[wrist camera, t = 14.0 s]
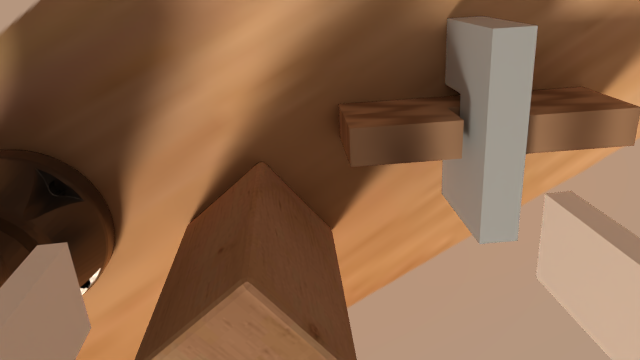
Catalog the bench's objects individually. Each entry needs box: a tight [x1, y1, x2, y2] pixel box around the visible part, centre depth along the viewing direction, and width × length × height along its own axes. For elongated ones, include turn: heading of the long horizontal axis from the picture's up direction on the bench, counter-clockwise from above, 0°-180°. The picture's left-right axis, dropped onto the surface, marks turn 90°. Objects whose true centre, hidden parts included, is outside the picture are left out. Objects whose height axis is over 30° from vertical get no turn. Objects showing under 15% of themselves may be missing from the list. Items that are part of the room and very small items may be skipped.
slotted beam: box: [338, 87, 640, 167], centre depth 42 cm, size 22×3×8 cm, turn 93°
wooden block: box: [135, 162, 357, 360], centre depth 39 cm, size 10×10×20 cm
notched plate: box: [442, 16, 538, 244], centre depth 41 cm, size 3×16×10 cm, turn 3°
